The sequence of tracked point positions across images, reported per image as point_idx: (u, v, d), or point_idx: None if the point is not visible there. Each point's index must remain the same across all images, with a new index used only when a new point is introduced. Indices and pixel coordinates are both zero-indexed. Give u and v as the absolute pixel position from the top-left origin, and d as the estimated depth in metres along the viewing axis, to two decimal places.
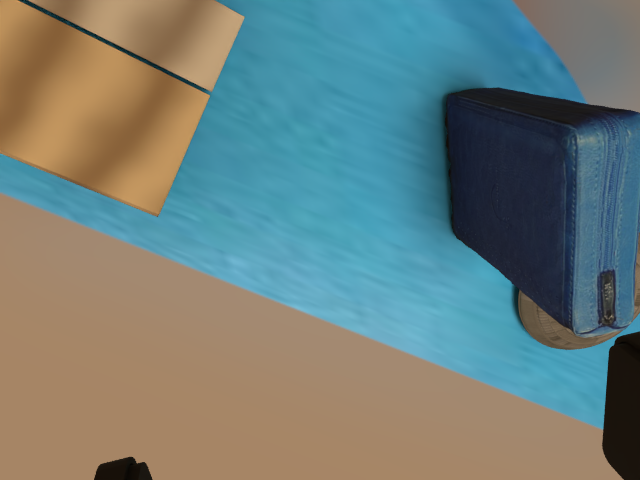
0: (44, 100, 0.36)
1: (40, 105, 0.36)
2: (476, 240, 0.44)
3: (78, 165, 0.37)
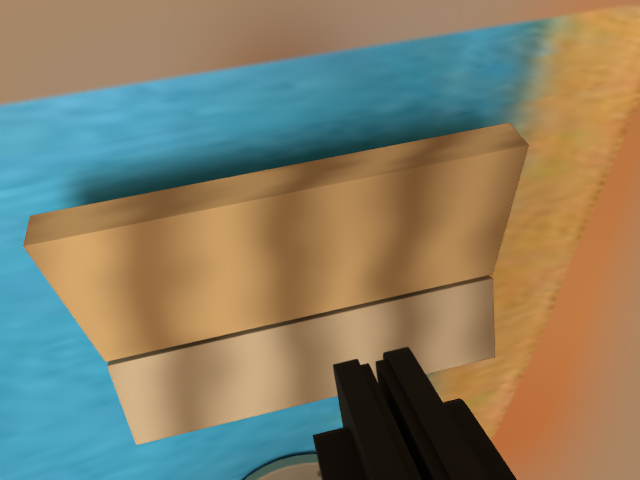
0: (259, 262, 0.27)
1: (260, 256, 0.27)
2: None
3: (172, 233, 0.25)
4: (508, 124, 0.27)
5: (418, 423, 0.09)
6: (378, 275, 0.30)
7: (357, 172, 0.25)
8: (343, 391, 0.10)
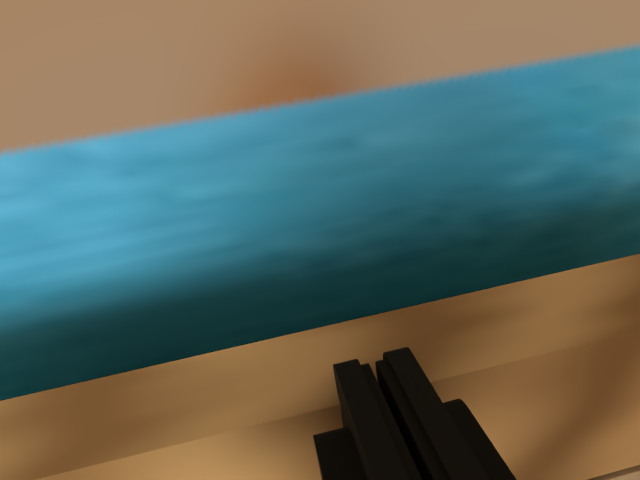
0: None
1: None
2: None
3: None
4: None
5: (418, 423, 0.09)
6: None
7: (516, 339, 0.12)
8: (343, 391, 0.10)
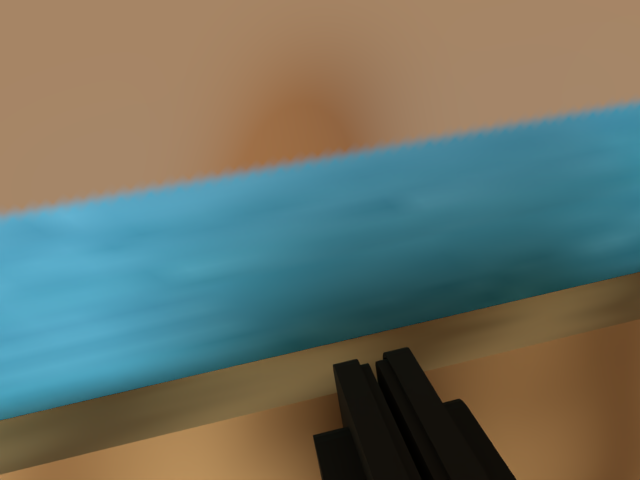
0: None
1: None
2: None
3: None
4: None
5: (418, 423, 0.09)
6: None
7: (508, 337, 0.12)
8: (343, 391, 0.10)
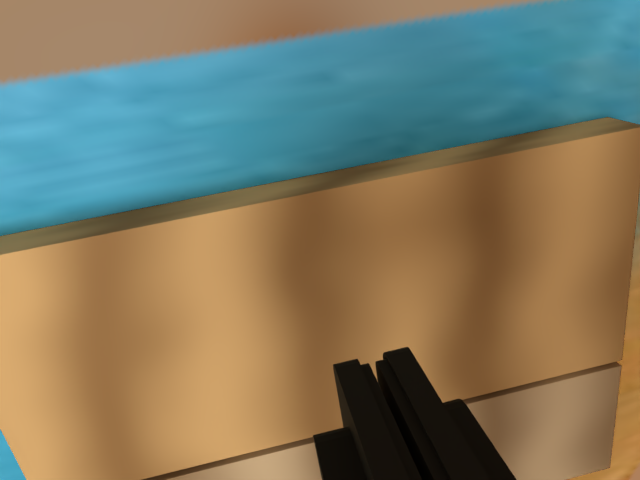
0: (271, 319, 0.18)
1: (271, 309, 0.18)
2: None
3: (140, 259, 0.17)
4: (606, 117, 0.20)
5: (418, 423, 0.09)
6: (450, 353, 0.20)
7: (405, 169, 0.18)
8: (343, 391, 0.10)
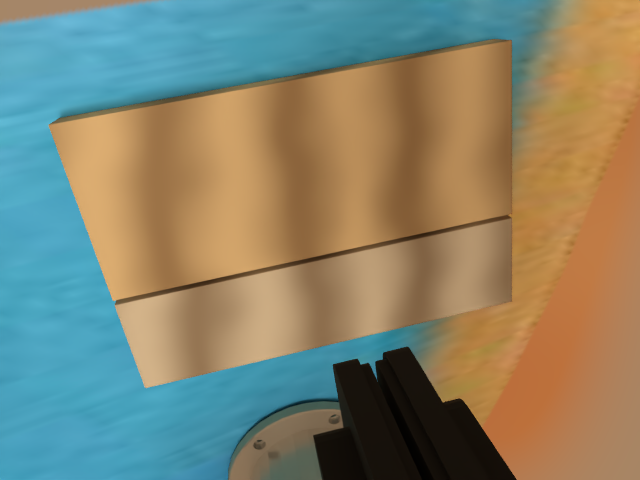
0: (267, 169, 0.28)
1: (267, 162, 0.28)
2: None
3: (183, 122, 0.26)
4: (492, 39, 0.29)
5: (418, 423, 0.09)
6: (389, 201, 0.30)
7: (353, 67, 0.27)
8: (343, 391, 0.10)
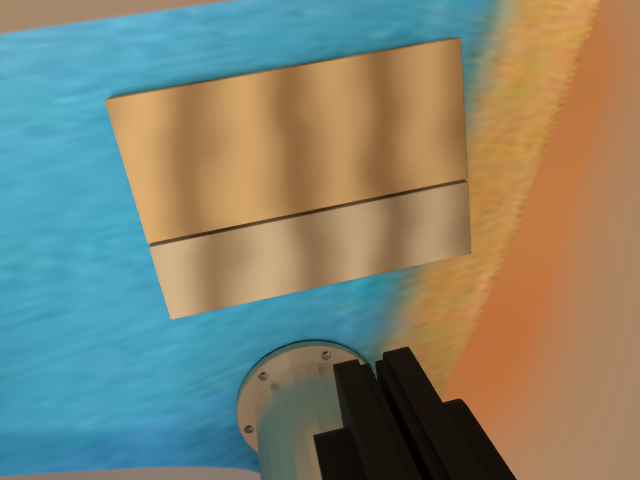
0: (270, 138, 0.36)
1: (271, 132, 0.36)
2: None
3: (207, 99, 0.34)
4: None
5: (418, 423, 0.09)
6: (367, 166, 0.38)
7: (338, 58, 0.35)
8: (343, 391, 0.10)
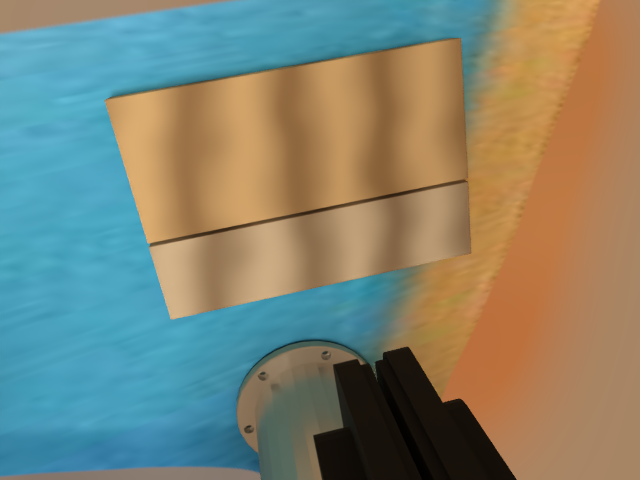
0: (270, 138, 0.36)
1: (271, 132, 0.36)
2: None
3: (207, 99, 0.34)
4: None
5: (418, 423, 0.09)
6: (367, 166, 0.38)
7: (338, 58, 0.35)
8: (343, 391, 0.10)
